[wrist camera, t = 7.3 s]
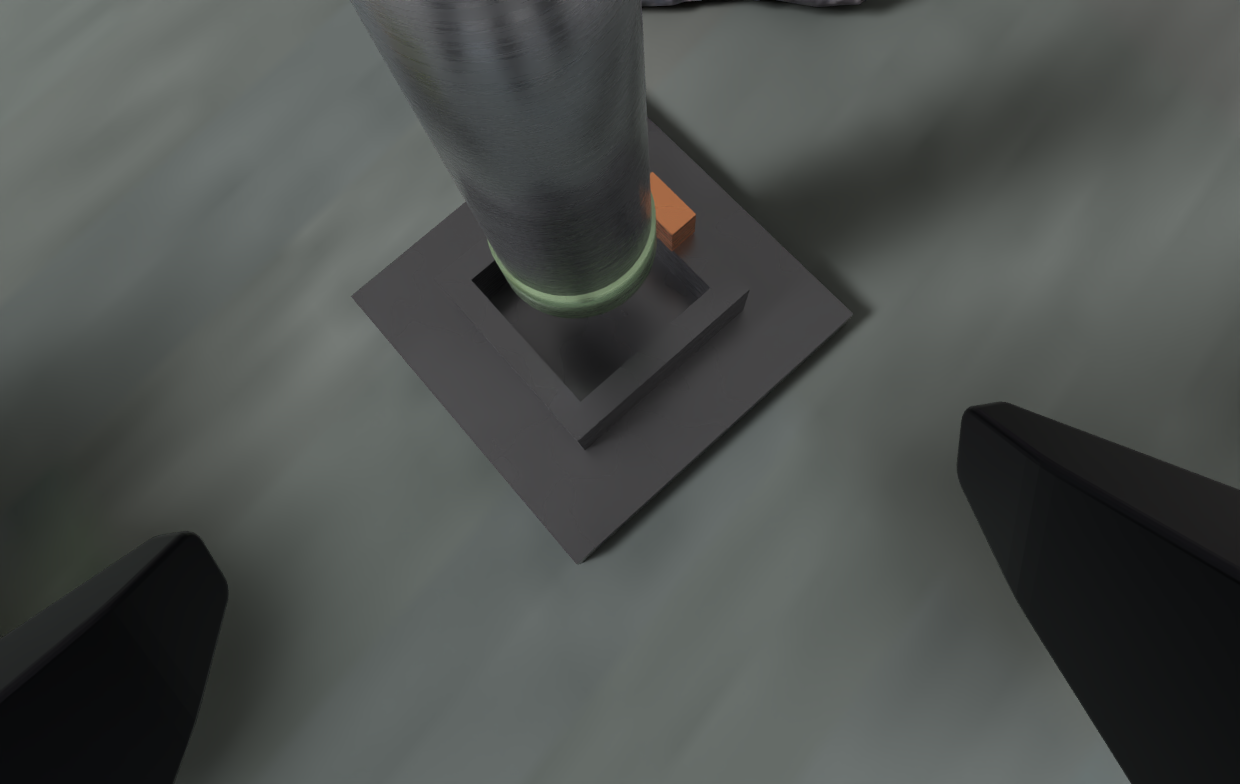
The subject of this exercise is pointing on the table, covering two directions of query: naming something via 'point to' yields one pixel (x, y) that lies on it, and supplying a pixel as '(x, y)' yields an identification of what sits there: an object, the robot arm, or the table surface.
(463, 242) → the stand base
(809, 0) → the geode
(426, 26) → the column
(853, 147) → the table surface
